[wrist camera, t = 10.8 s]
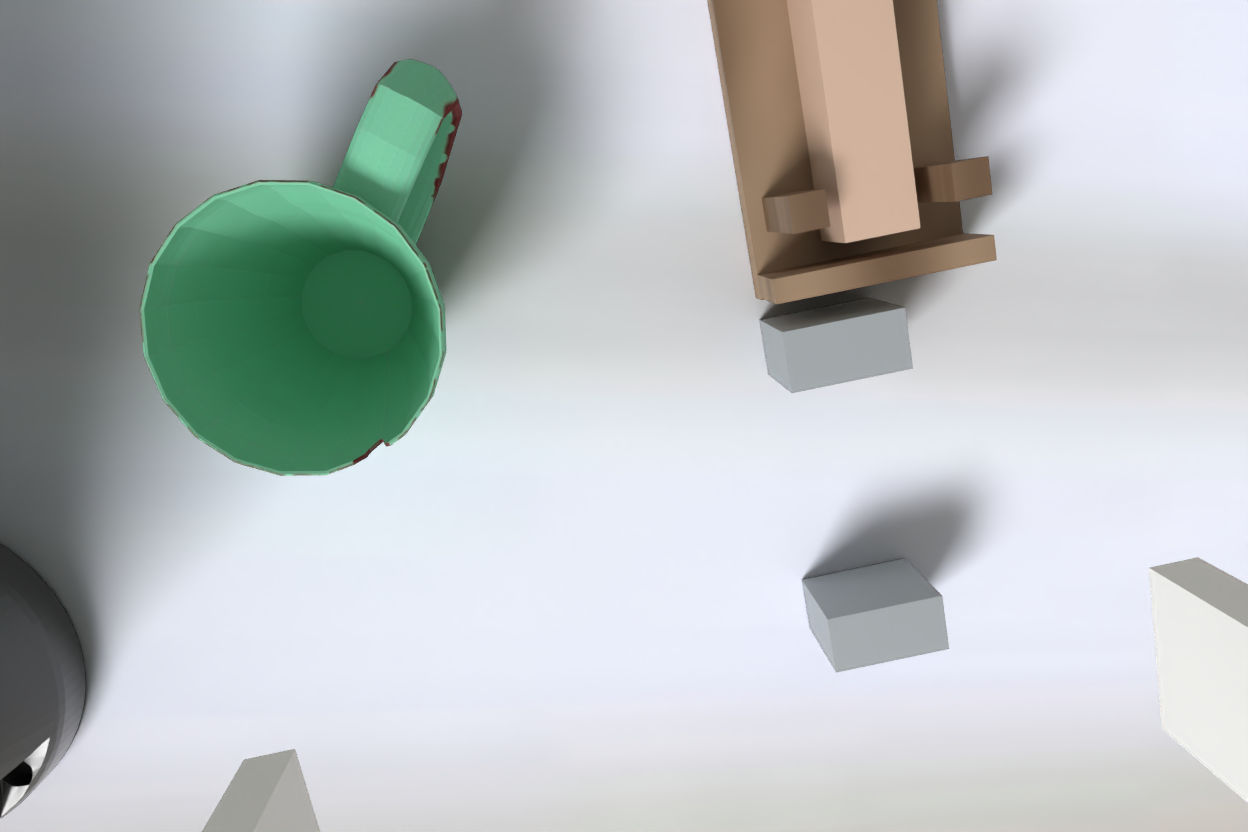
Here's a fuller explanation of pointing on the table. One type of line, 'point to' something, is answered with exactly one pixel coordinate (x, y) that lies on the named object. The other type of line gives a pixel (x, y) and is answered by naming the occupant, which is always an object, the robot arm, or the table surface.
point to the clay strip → (855, 115)
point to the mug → (311, 296)
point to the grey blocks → (877, 594)
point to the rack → (781, 172)
